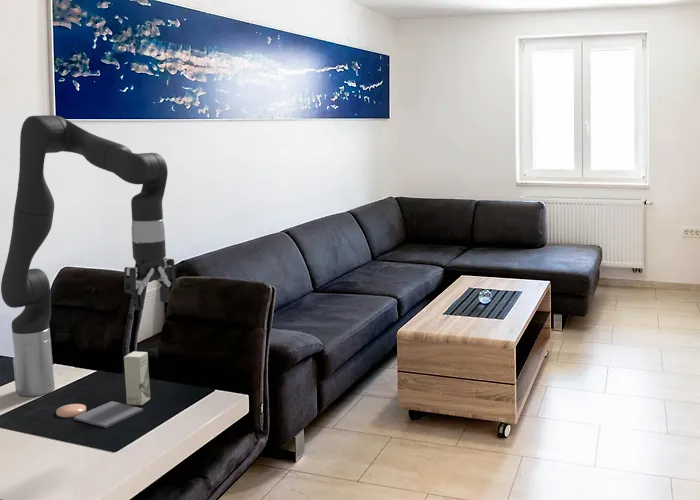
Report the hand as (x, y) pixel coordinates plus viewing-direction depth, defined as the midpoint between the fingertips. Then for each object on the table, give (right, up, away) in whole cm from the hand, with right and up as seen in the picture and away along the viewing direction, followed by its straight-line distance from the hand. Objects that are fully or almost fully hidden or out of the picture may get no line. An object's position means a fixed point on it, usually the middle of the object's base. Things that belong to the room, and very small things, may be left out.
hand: (151, 305), depth 178 cm
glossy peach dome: (-23, -27, +9) cm, 36 cm away
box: (-7, -26, +15) cm, 31 cm away
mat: (-12, -28, +6) cm, 31 cm away
